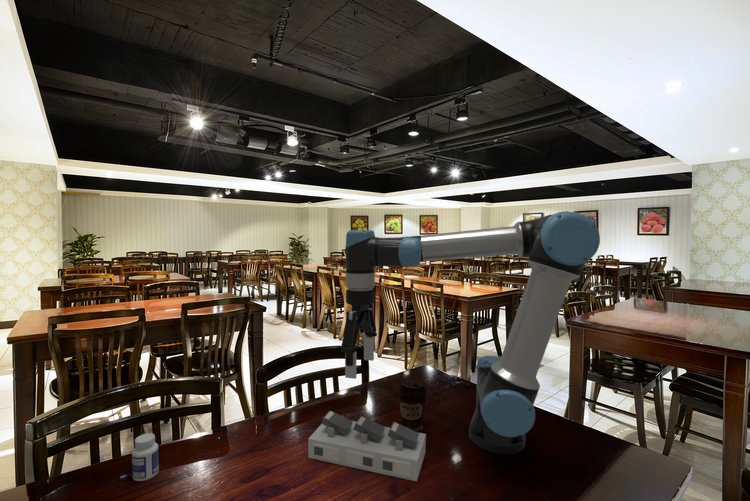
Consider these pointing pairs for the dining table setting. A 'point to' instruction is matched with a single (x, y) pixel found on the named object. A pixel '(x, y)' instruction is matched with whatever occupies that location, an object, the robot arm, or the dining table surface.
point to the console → (368, 452)
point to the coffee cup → (412, 403)
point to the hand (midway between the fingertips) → (360, 368)
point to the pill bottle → (145, 457)
